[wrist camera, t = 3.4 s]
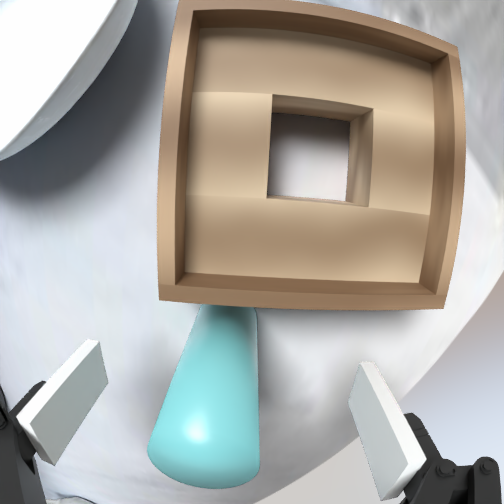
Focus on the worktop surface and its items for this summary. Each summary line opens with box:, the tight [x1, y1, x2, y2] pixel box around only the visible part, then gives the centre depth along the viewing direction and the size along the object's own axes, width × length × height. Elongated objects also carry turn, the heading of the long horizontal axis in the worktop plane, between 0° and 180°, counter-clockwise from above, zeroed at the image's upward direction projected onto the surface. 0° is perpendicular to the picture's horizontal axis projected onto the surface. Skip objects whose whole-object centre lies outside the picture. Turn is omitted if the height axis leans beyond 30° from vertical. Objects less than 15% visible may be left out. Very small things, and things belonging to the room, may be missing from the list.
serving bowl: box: [0, 0, 138, 161], centre depth 12 cm, size 21×21×7 cm
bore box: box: [157, 0, 466, 310], centre depth 14 cm, size 15×15×6 cm
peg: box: [147, 304, 260, 489], centre depth 14 cm, size 4×4×12 cm
